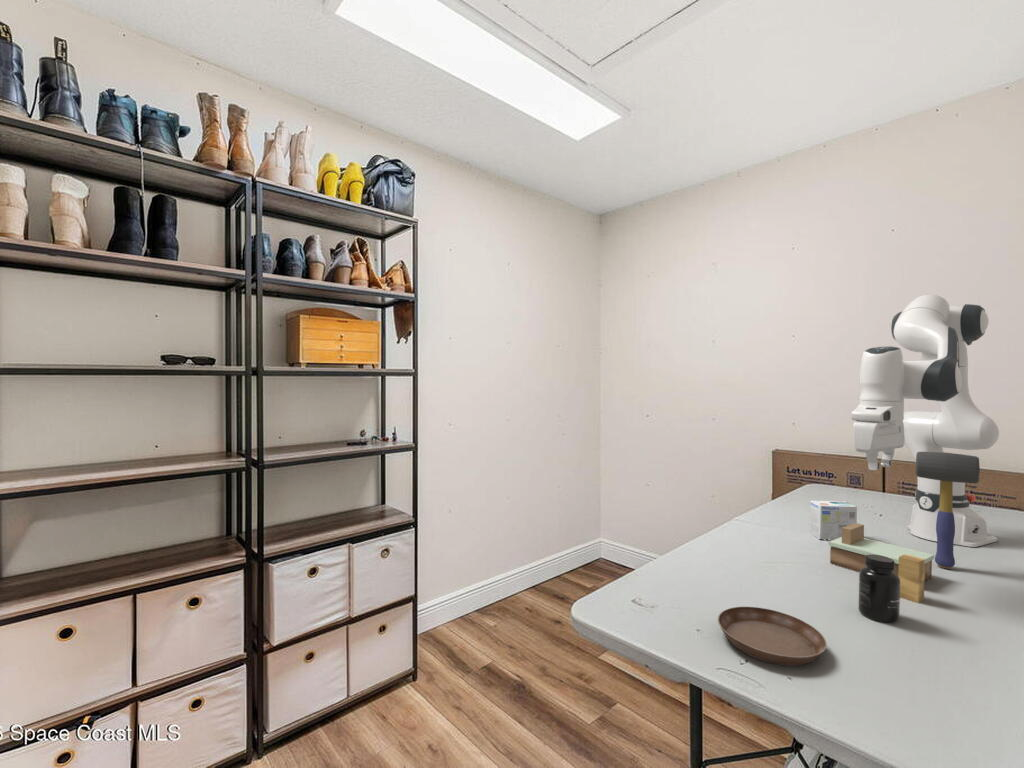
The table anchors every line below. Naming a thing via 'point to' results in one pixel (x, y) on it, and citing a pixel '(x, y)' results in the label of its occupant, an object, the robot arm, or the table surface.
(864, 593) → the supplement bottle
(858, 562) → the wooden box base
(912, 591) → the light wooden block
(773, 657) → the plant saucer
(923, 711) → the table surface
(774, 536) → the table surface
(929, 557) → the lid
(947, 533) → the rubber mallet
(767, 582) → the table surface
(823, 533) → the light bulb box
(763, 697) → the table surface
